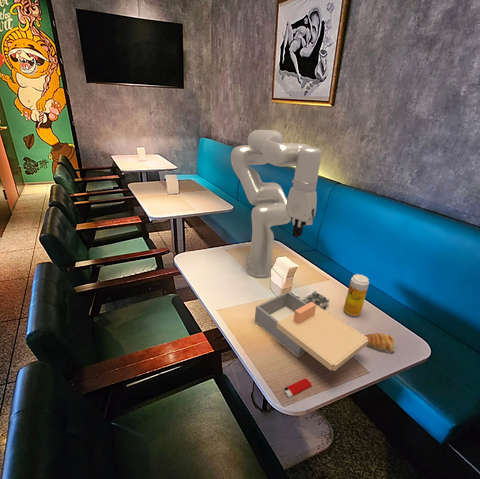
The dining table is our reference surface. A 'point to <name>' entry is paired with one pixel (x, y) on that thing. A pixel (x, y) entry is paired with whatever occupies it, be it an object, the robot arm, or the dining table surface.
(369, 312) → the dining table surface
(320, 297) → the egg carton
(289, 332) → the lid
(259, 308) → the box
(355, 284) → the beer can
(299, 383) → the lighter
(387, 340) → the pastry
